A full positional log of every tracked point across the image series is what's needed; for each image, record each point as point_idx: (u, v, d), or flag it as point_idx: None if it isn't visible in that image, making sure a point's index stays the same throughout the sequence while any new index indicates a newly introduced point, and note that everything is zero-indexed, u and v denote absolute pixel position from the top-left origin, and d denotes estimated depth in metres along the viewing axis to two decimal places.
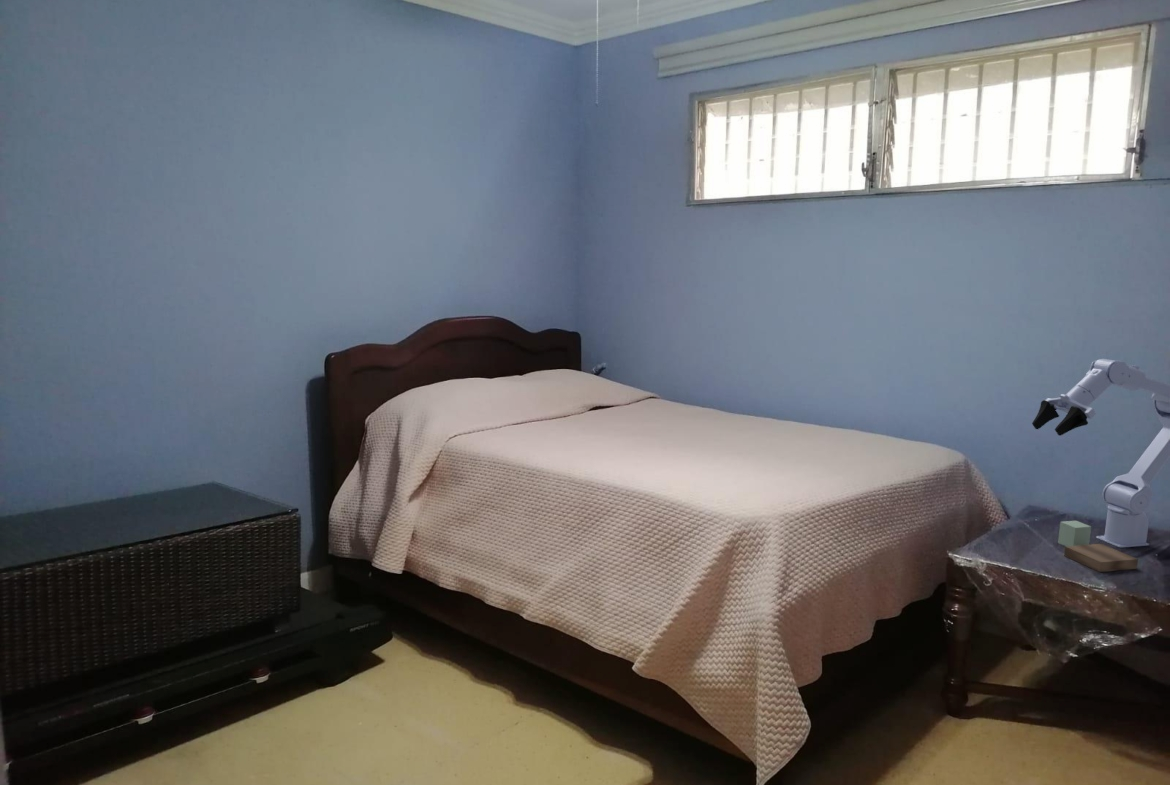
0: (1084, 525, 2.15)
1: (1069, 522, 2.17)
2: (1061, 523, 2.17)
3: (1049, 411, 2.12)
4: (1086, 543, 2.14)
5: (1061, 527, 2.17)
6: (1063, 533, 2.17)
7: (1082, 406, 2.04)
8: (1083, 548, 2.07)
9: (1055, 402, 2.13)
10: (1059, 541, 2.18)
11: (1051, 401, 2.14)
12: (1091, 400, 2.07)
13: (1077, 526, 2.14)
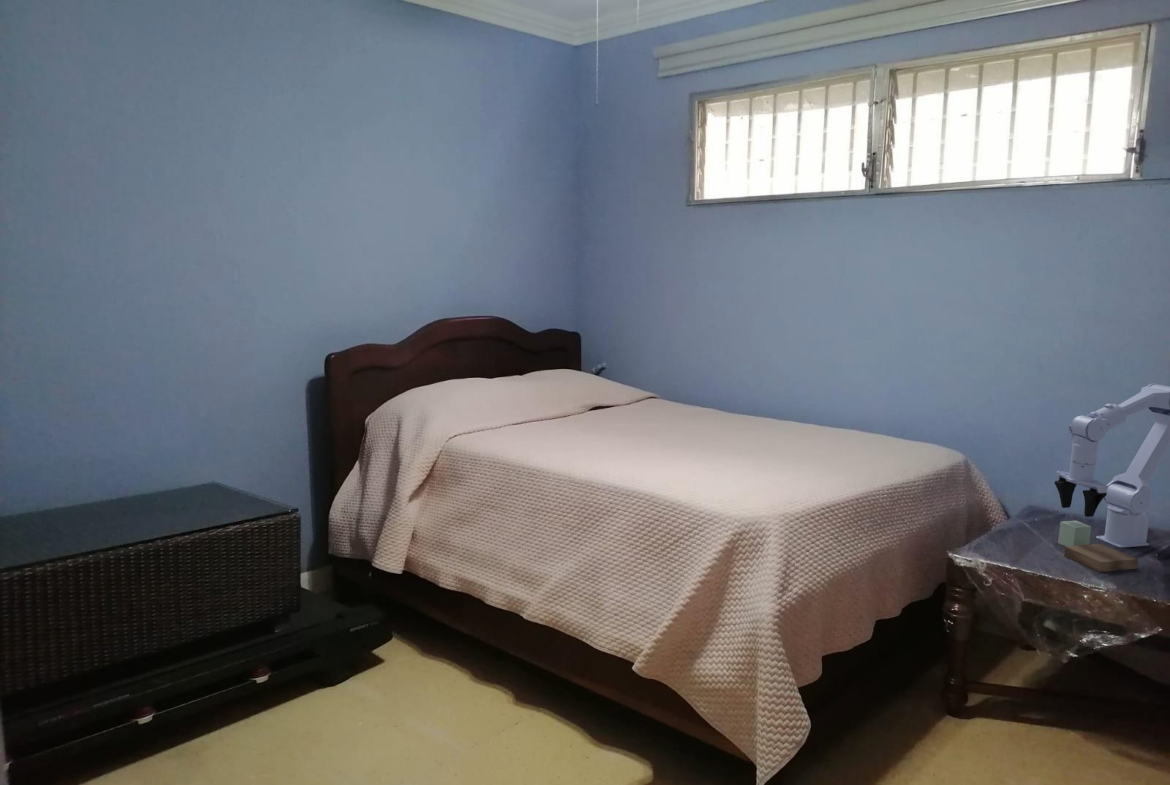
0: (1084, 525, 2.15)
1: (1069, 522, 2.17)
2: (1061, 523, 2.17)
3: (1067, 487, 2.18)
4: (1086, 543, 2.14)
5: (1061, 527, 2.17)
6: (1063, 533, 2.17)
7: (1091, 485, 2.09)
8: (1083, 548, 2.07)
9: None
10: (1059, 541, 2.18)
11: None
12: (1094, 467, 2.11)
13: (1077, 526, 2.14)
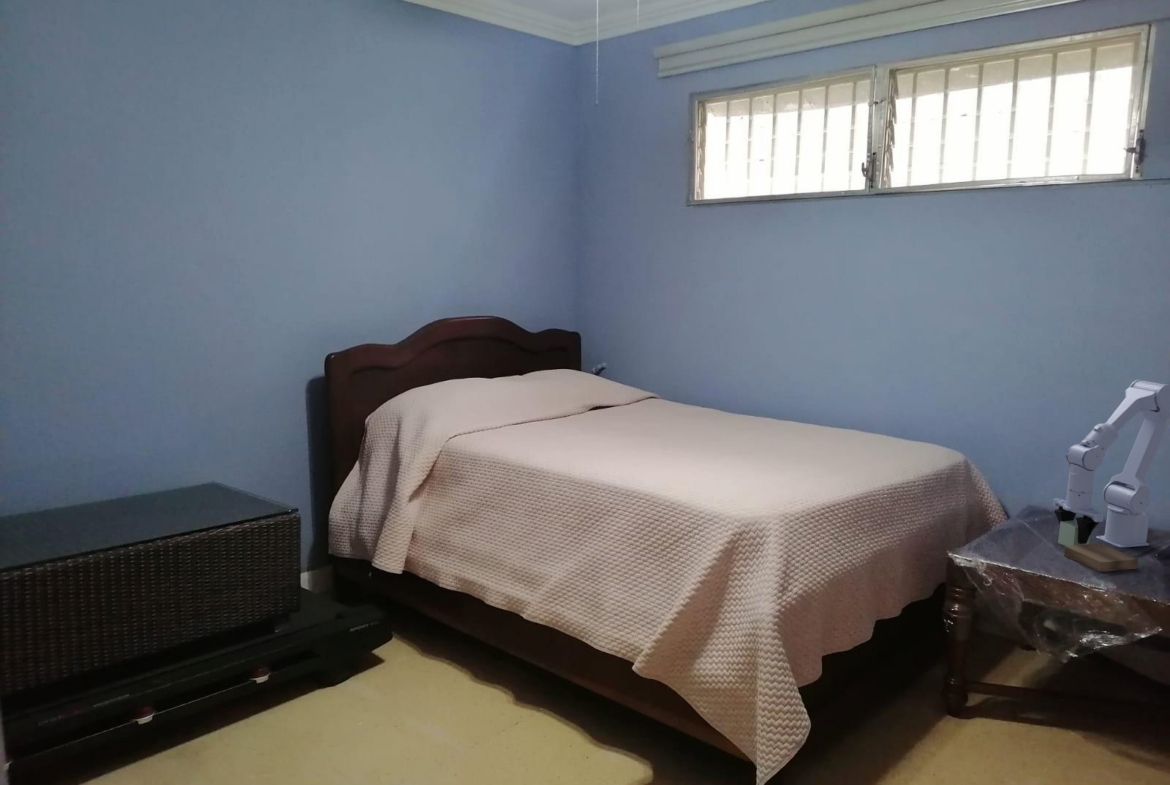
0: None
1: (1069, 522, 2.17)
2: (1061, 523, 2.17)
3: (1067, 516, 2.18)
4: (1086, 543, 2.14)
5: (1061, 527, 2.17)
6: (1063, 533, 2.17)
7: (1088, 514, 2.10)
8: (1083, 548, 2.07)
9: None
10: (1059, 541, 2.18)
11: None
12: (1090, 495, 2.12)
13: (1077, 526, 2.14)
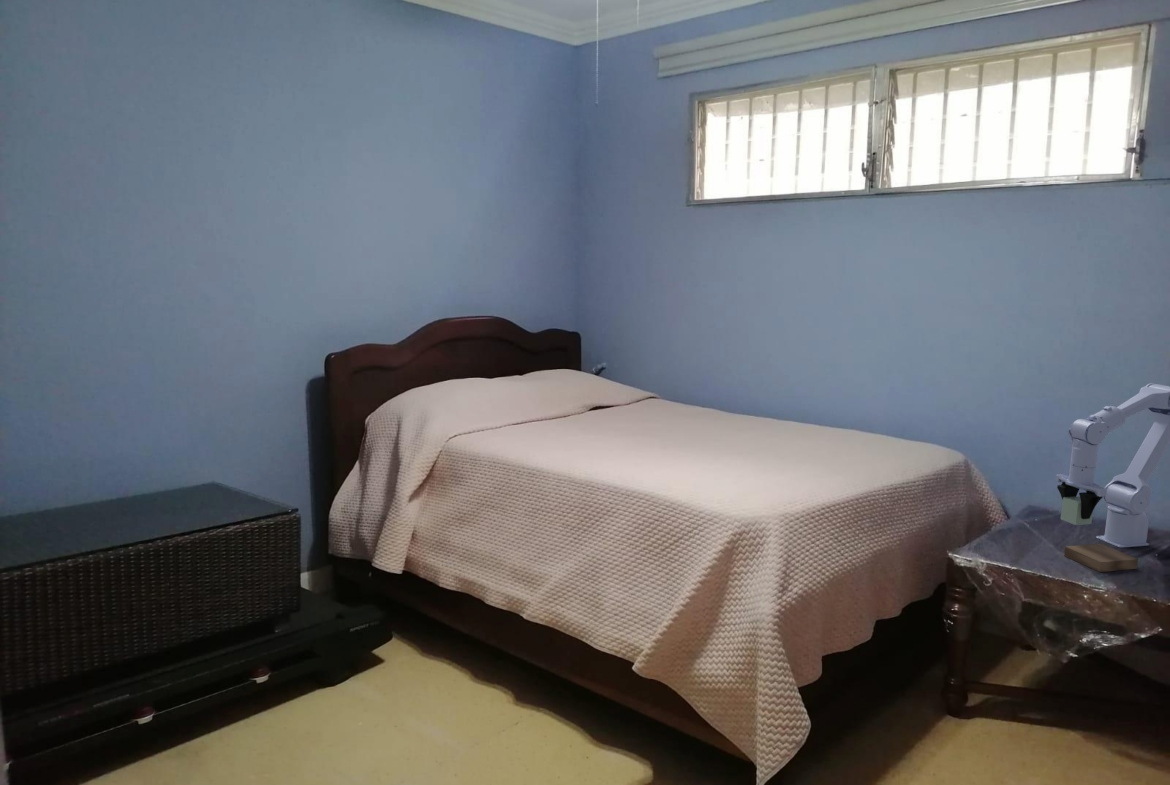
0: None
1: (1072, 498, 2.16)
2: (1064, 499, 2.16)
3: (1070, 492, 2.17)
4: (1089, 519, 2.13)
5: (1064, 503, 2.16)
6: (1065, 509, 2.16)
7: (1091, 489, 2.09)
8: (1083, 548, 2.07)
9: None
10: (1062, 517, 2.17)
11: None
12: (1093, 470, 2.11)
13: (1079, 501, 2.13)
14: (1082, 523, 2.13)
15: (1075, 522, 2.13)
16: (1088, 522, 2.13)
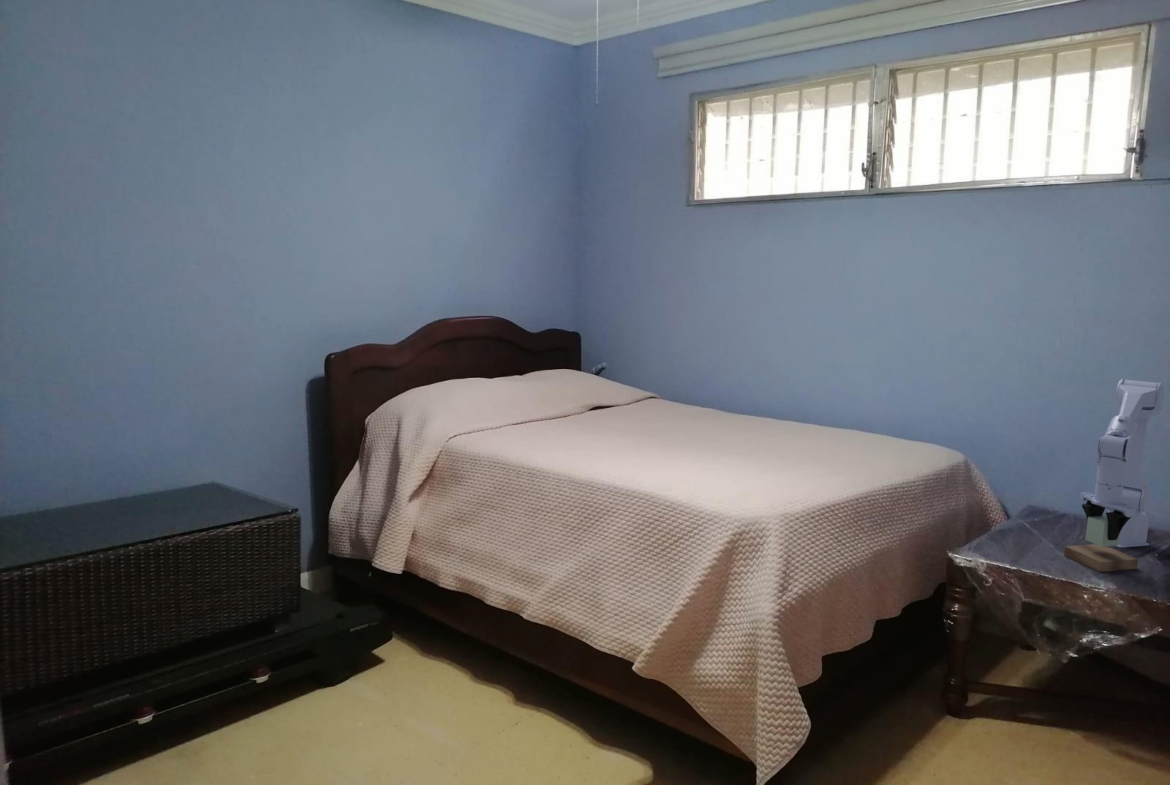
0: None
1: (1097, 517, 2.04)
2: (1089, 518, 2.05)
3: (1095, 511, 2.05)
4: (1116, 540, 2.02)
5: (1089, 523, 2.05)
6: (1091, 529, 2.04)
7: (1118, 508, 1.97)
8: (1083, 548, 2.07)
9: None
10: (1087, 538, 2.05)
11: None
12: (1121, 489, 1.99)
13: (1106, 522, 2.01)
14: (1109, 544, 2.02)
15: (1101, 543, 2.01)
16: (1115, 543, 2.02)
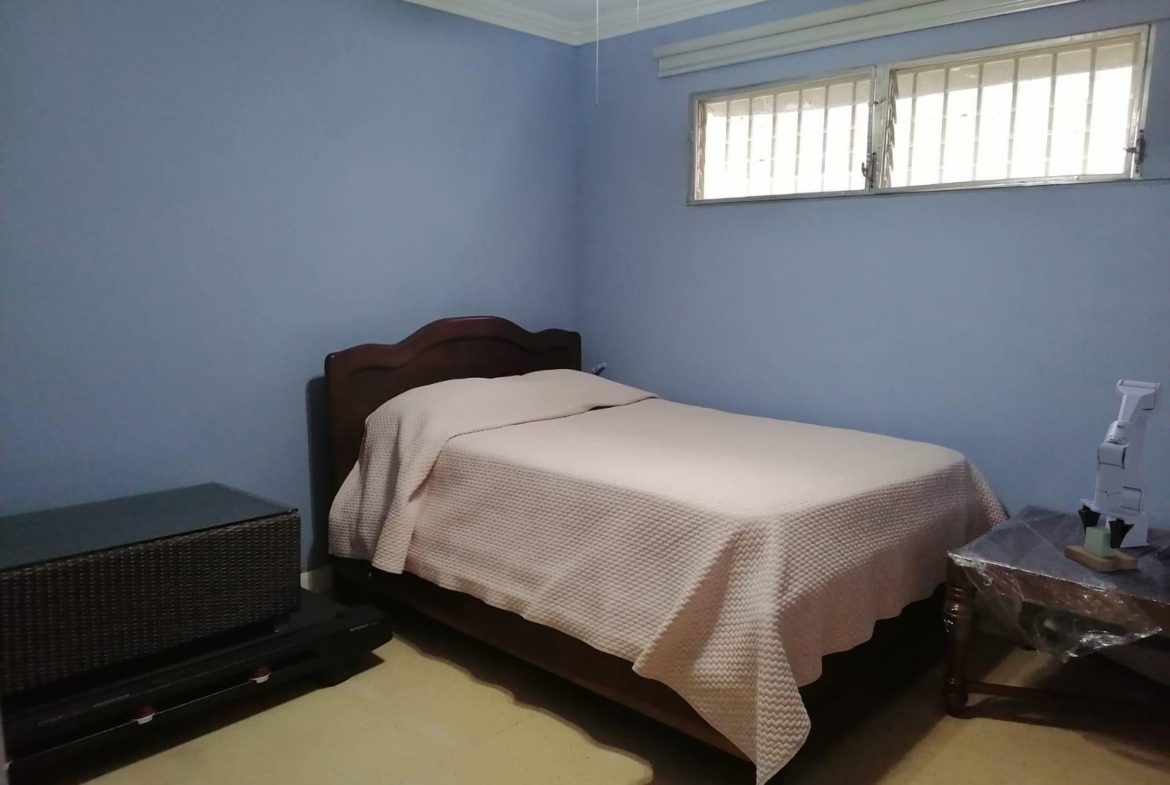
0: None
1: (1096, 528, 2.05)
2: (1087, 529, 2.05)
3: (1091, 517, 2.07)
4: (1114, 550, 2.02)
5: (1087, 533, 2.05)
6: (1089, 539, 2.05)
7: (1118, 516, 1.98)
8: (1083, 548, 2.07)
9: None
10: (1085, 548, 2.06)
11: None
12: (1120, 496, 2.00)
13: (1104, 532, 2.02)
14: (1107, 555, 2.02)
15: (1100, 554, 2.02)
16: (1113, 553, 2.02)
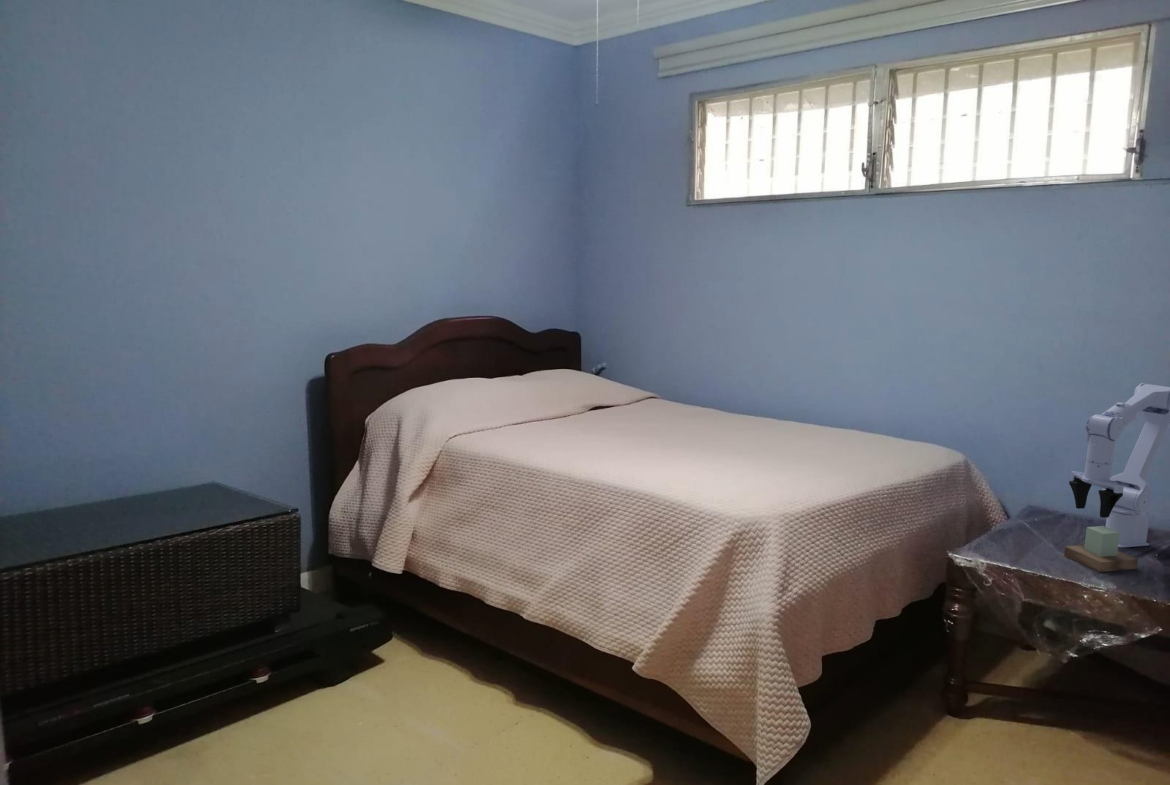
0: (1112, 531, 2.03)
1: (1096, 528, 2.05)
2: (1087, 529, 2.05)
3: (1082, 488, 2.14)
4: (1114, 550, 2.02)
5: (1087, 533, 2.05)
6: (1089, 539, 2.05)
7: (1107, 485, 2.05)
8: (1083, 548, 2.07)
9: None
10: (1085, 548, 2.06)
11: None
12: (1110, 467, 2.07)
13: (1104, 532, 2.02)
14: (1107, 555, 2.02)
15: (1100, 554, 2.02)
16: (1113, 553, 2.02)
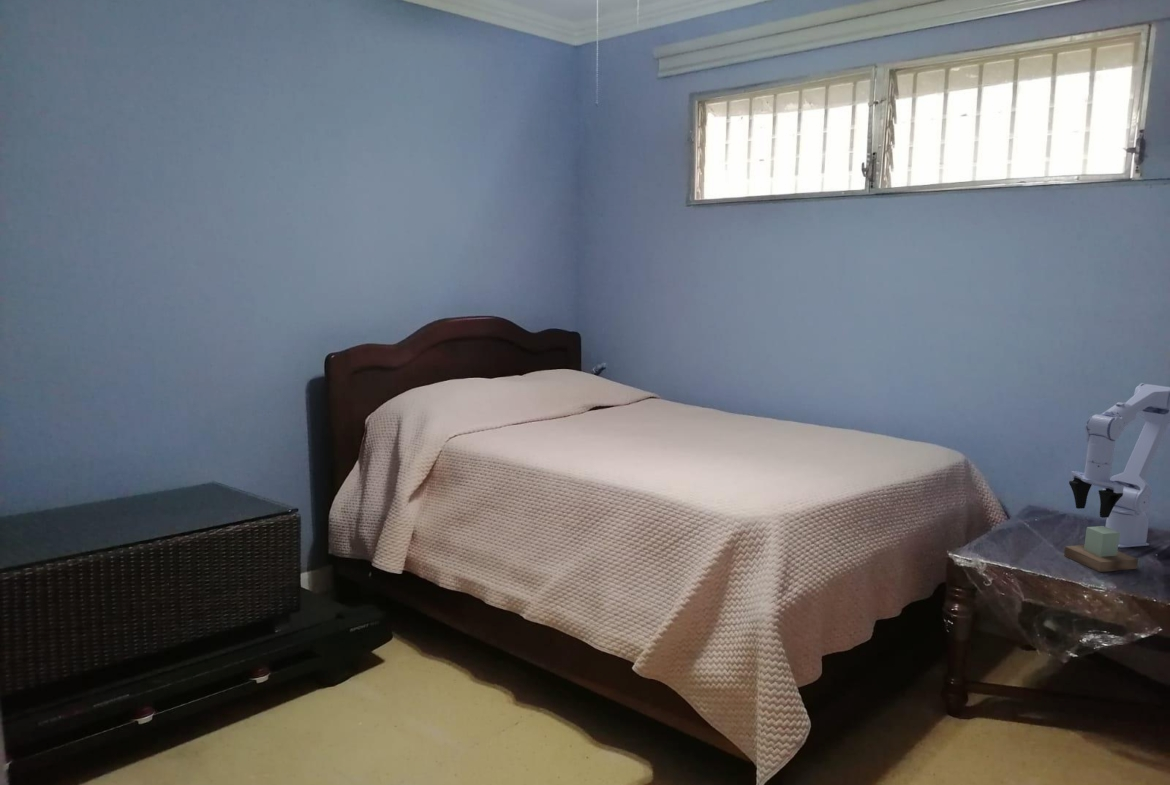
0: (1112, 531, 2.03)
1: (1096, 528, 2.05)
2: (1087, 529, 2.05)
3: (1082, 488, 2.14)
4: (1114, 550, 2.02)
5: (1087, 533, 2.05)
6: (1089, 539, 2.05)
7: (1107, 485, 2.05)
8: (1083, 548, 2.07)
9: None
10: (1085, 548, 2.06)
11: None
12: (1110, 467, 2.07)
13: (1104, 532, 2.02)
14: (1107, 555, 2.02)
15: (1100, 554, 2.02)
16: (1113, 553, 2.02)
